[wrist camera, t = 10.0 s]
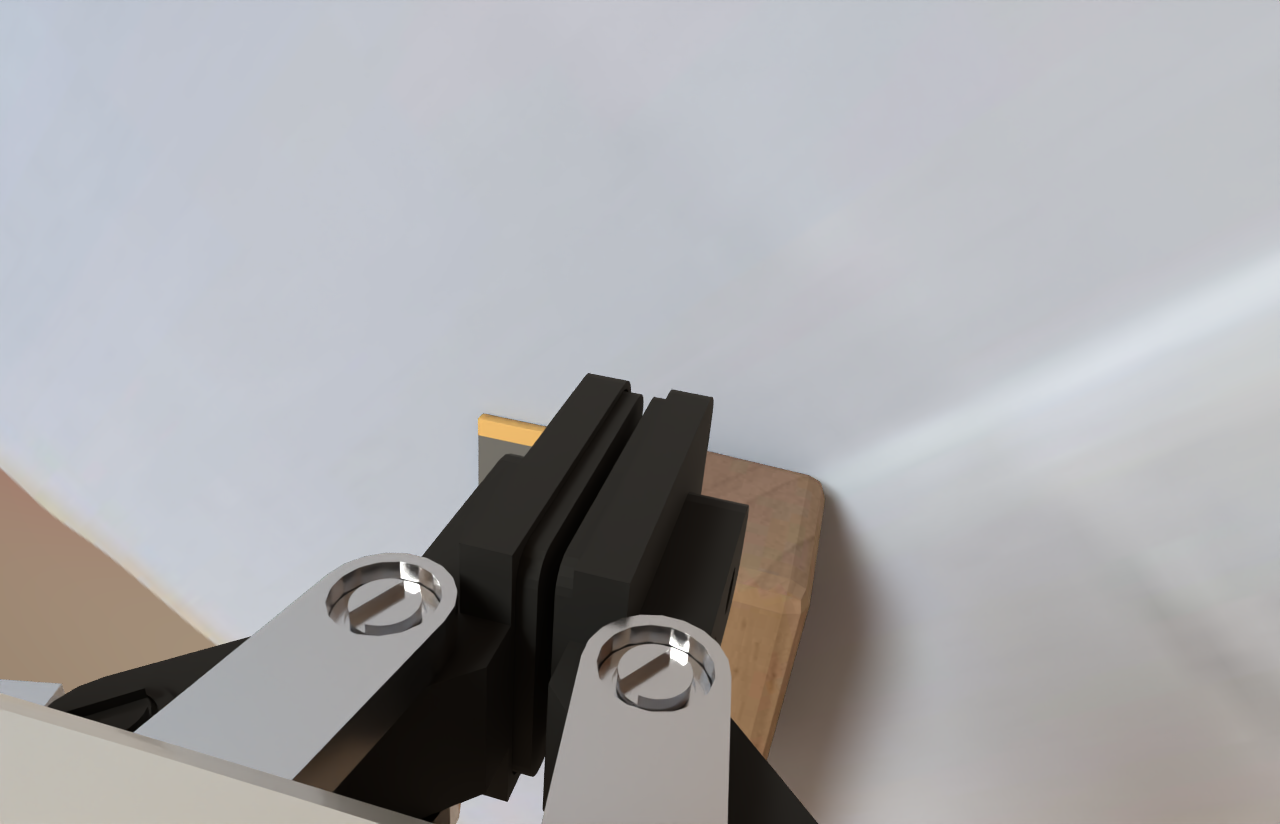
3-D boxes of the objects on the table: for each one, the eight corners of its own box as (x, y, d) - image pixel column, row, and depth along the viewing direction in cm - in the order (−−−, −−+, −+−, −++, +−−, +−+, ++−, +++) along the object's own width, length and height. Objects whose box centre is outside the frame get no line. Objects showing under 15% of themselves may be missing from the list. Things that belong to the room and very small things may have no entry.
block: (831, 472, 43) (756, 754, 53) (633, 425, 45) (595, 706, 55) (812, 601, 35) (727, 909, 44) (569, 536, 36) (537, 847, 46)
